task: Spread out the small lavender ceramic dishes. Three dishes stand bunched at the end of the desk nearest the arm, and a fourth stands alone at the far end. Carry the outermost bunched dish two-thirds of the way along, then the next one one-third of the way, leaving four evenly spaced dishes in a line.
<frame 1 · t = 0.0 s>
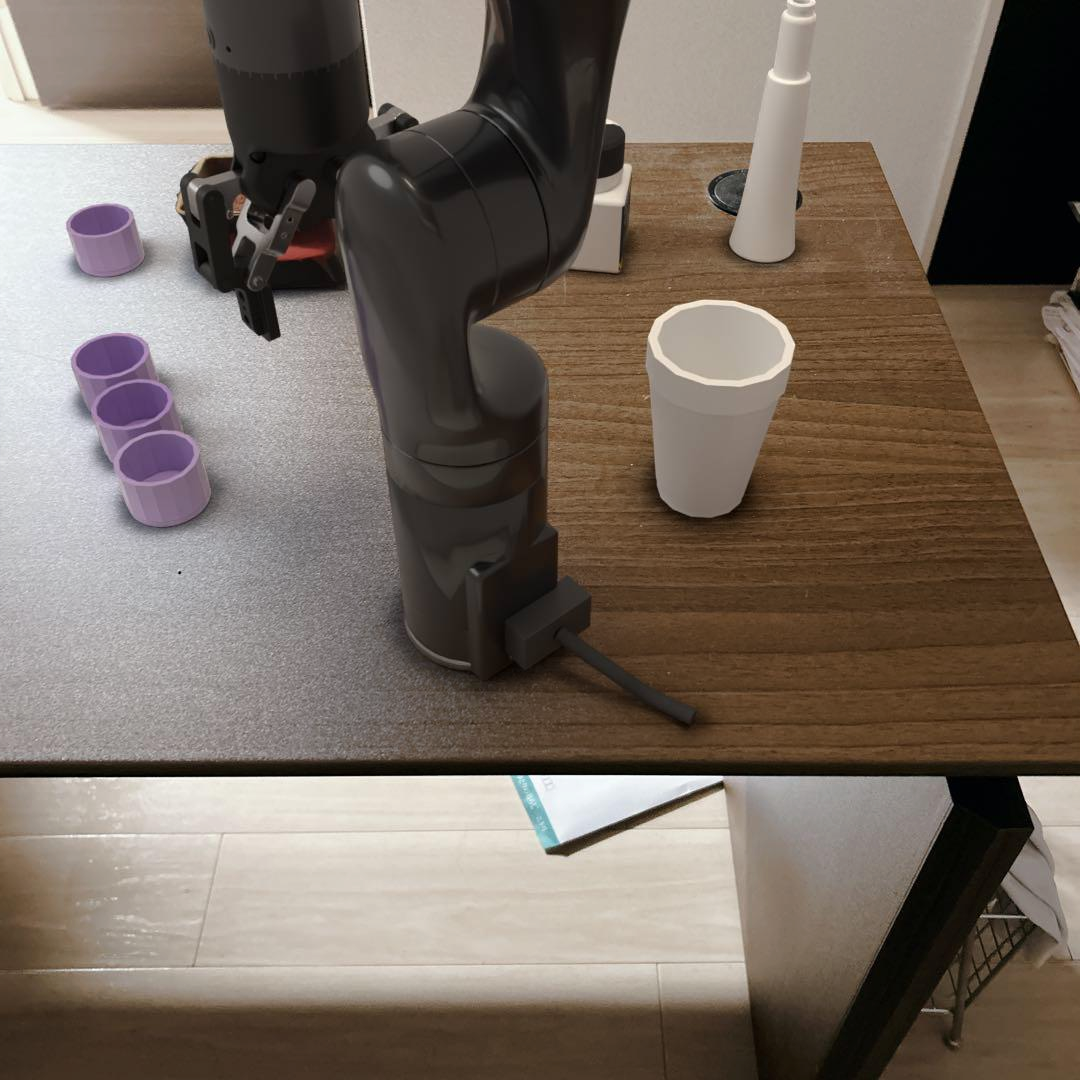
hand: (328, 306, 68), 17 cm above the table, tool pointing down, fingers open, 8 cm apart
cosmetic bottle: (761, 247, 105), on the table
medicine bottle: (585, 252, 104), on the table
dish b: (145, 444, 85), on the table
dish c: (123, 395, 89), on the table
dish far: (112, 259, 103), on the table
foam cup: (700, 489, 82), on the table
baking dish: (293, 256, 104), on the table
dish a: (170, 498, 81), on the table
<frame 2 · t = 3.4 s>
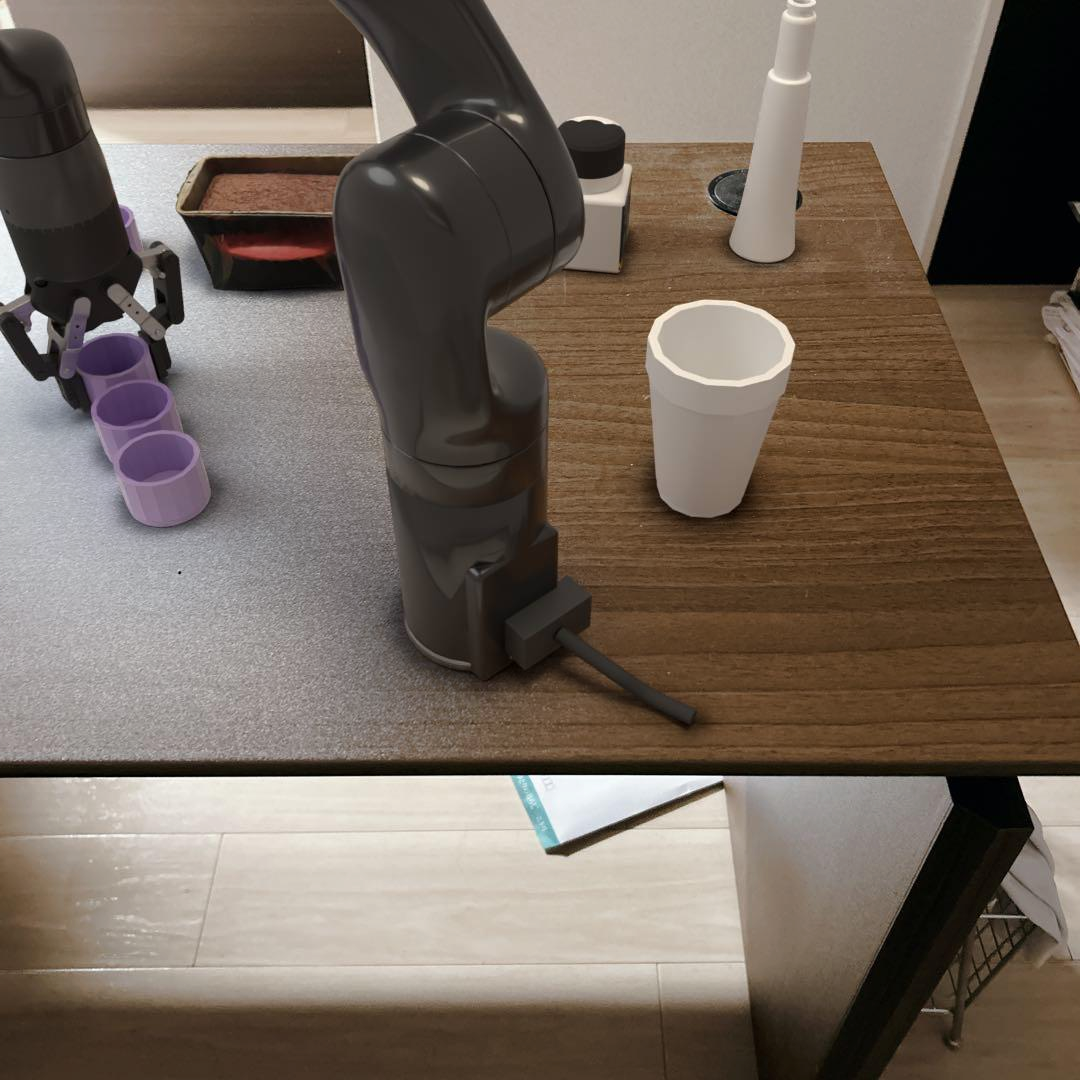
hand: (122, 389, 89), 1 cm above the table, tool pointing down, fingers closed on dish c, 6 cm apart
dish c: (123, 396, 89), on the table, touching gripper
everything else where it was.
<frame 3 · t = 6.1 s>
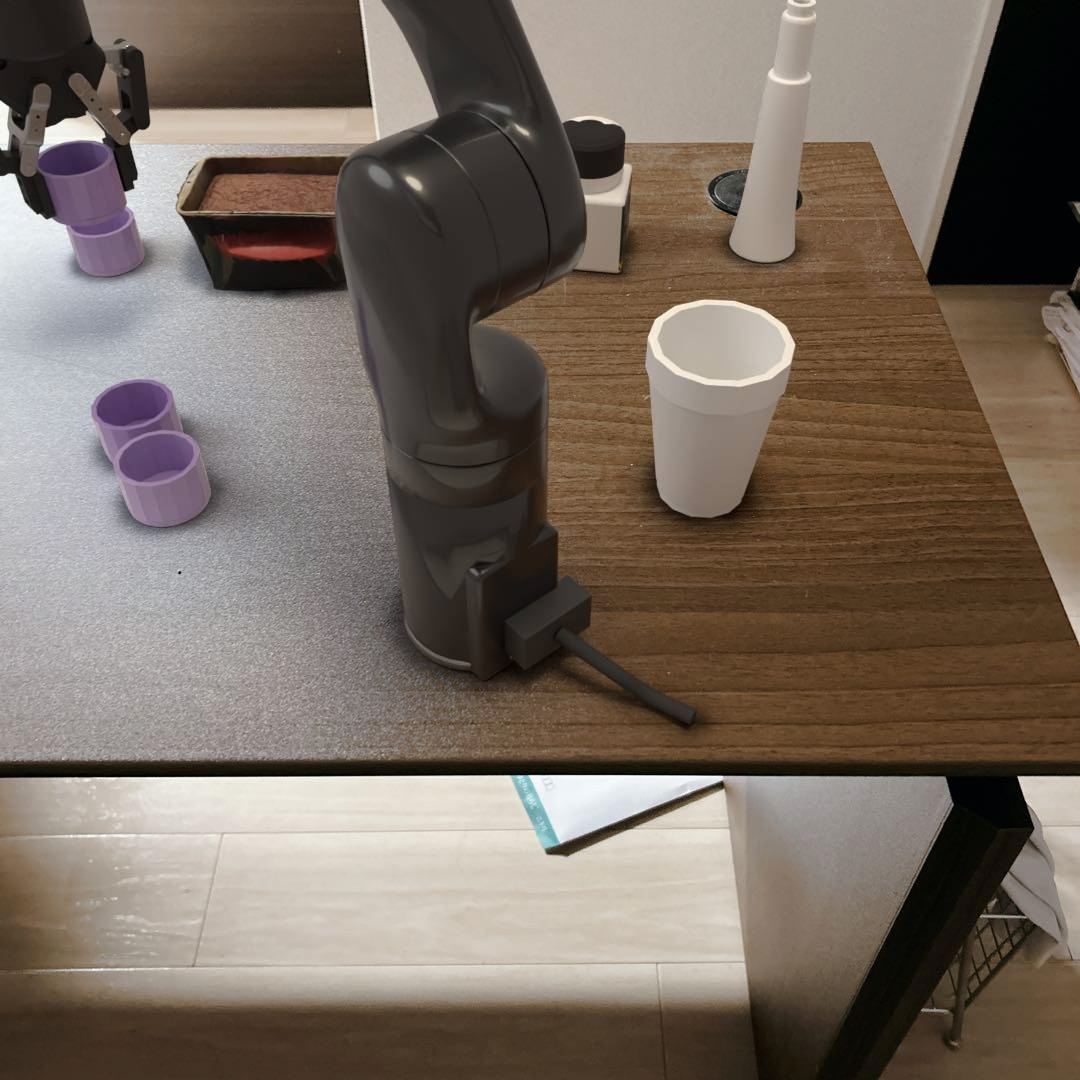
hand: (86, 199, 87), 12 cm above the table, tool pointing down, fingers closed on dish c, 6 cm apart
dish c: (88, 206, 87), point 11 cm above the table, touching gripper
everything else where it was.
when the fingers open (1 cm above the table, at t = 9.1 s): dish c stays where it is, on the table.
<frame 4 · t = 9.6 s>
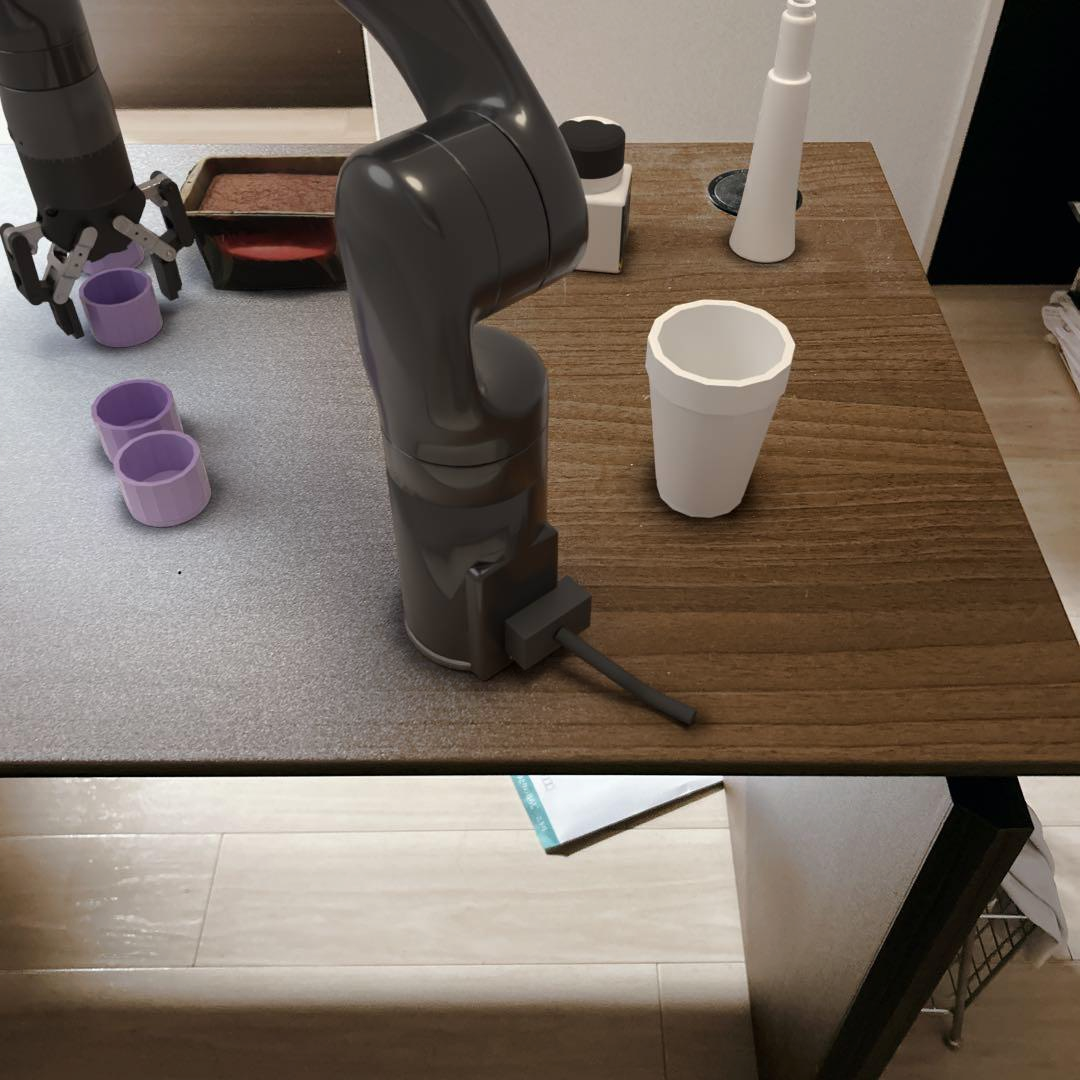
hand: (124, 314, 95), 1 cm above the table, tool pointing down, fingers open, 8 cm apart
dish c: (127, 327, 96), on the table
everything else where it was.
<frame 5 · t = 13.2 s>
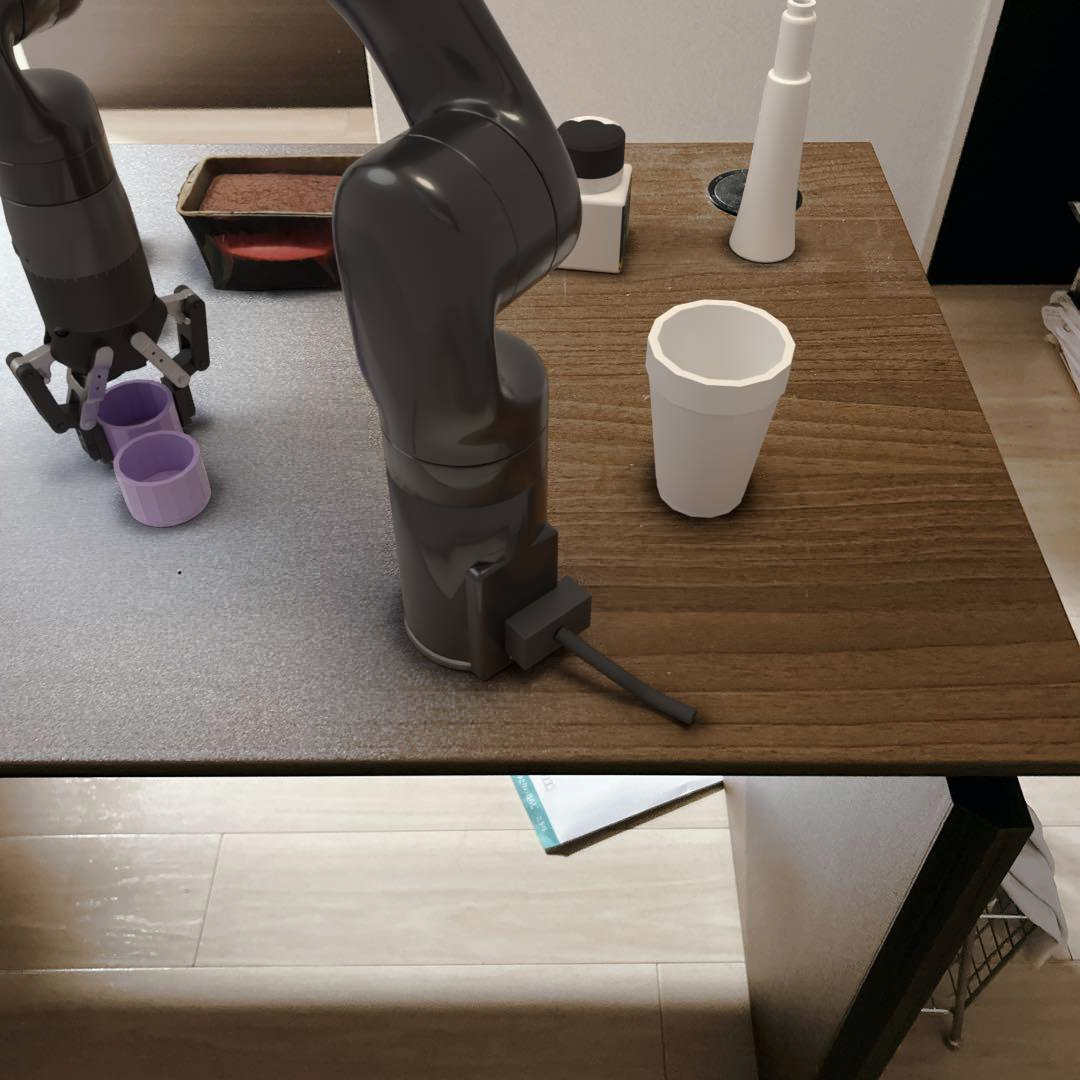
hand: (143, 438, 85), 1 cm above the table, tool pointing down, fingers closed on dish b, 6 cm apart
dish b: (145, 444, 85), on the table, touching gripper
everything else where it was.
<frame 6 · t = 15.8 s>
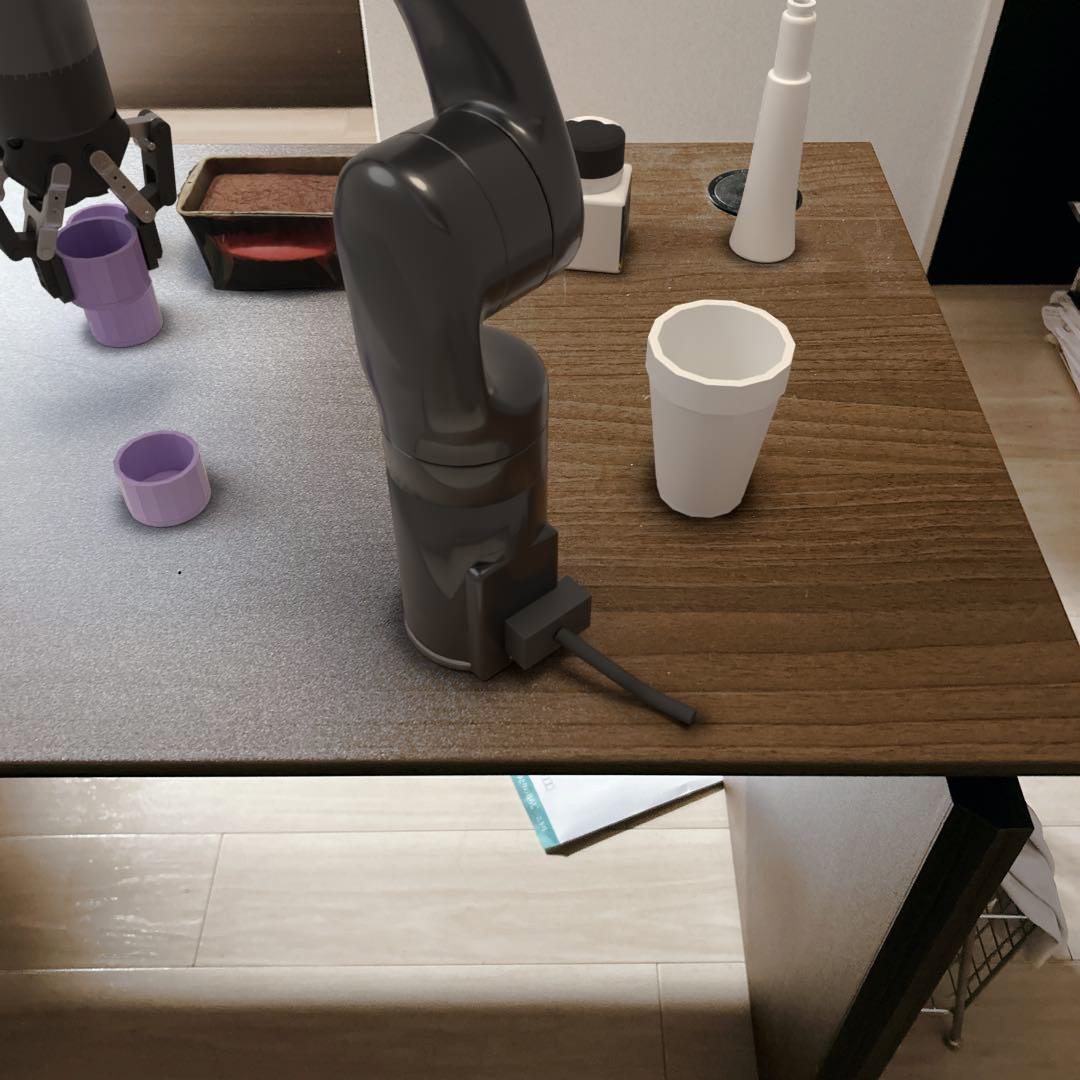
hand: (107, 279, 80), 11 cm above the table, tool pointing down, fingers closed on dish b, 6 cm apart
dish b: (109, 287, 81), point 11 cm above the table, touching gripper
everything else where it was.
when the fingers open (1 cm above the table, at t = 18.7 s): dish b stays where it is, on the table.
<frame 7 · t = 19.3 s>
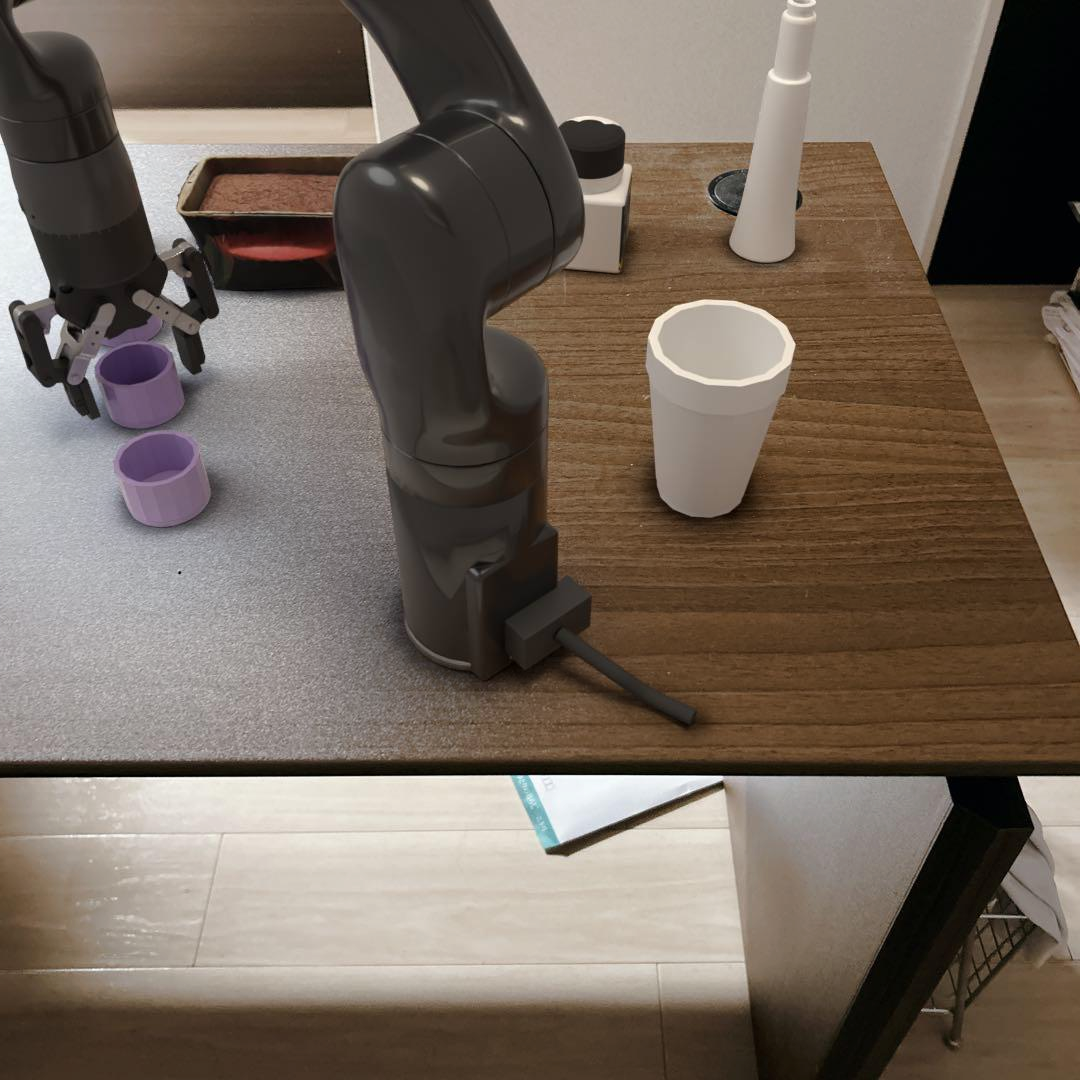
hand: (143, 391, 88), 1 cm above the table, tool pointing down, fingers open, 8 cm apart
dish b: (147, 404, 89), on the table
everything else where it was.
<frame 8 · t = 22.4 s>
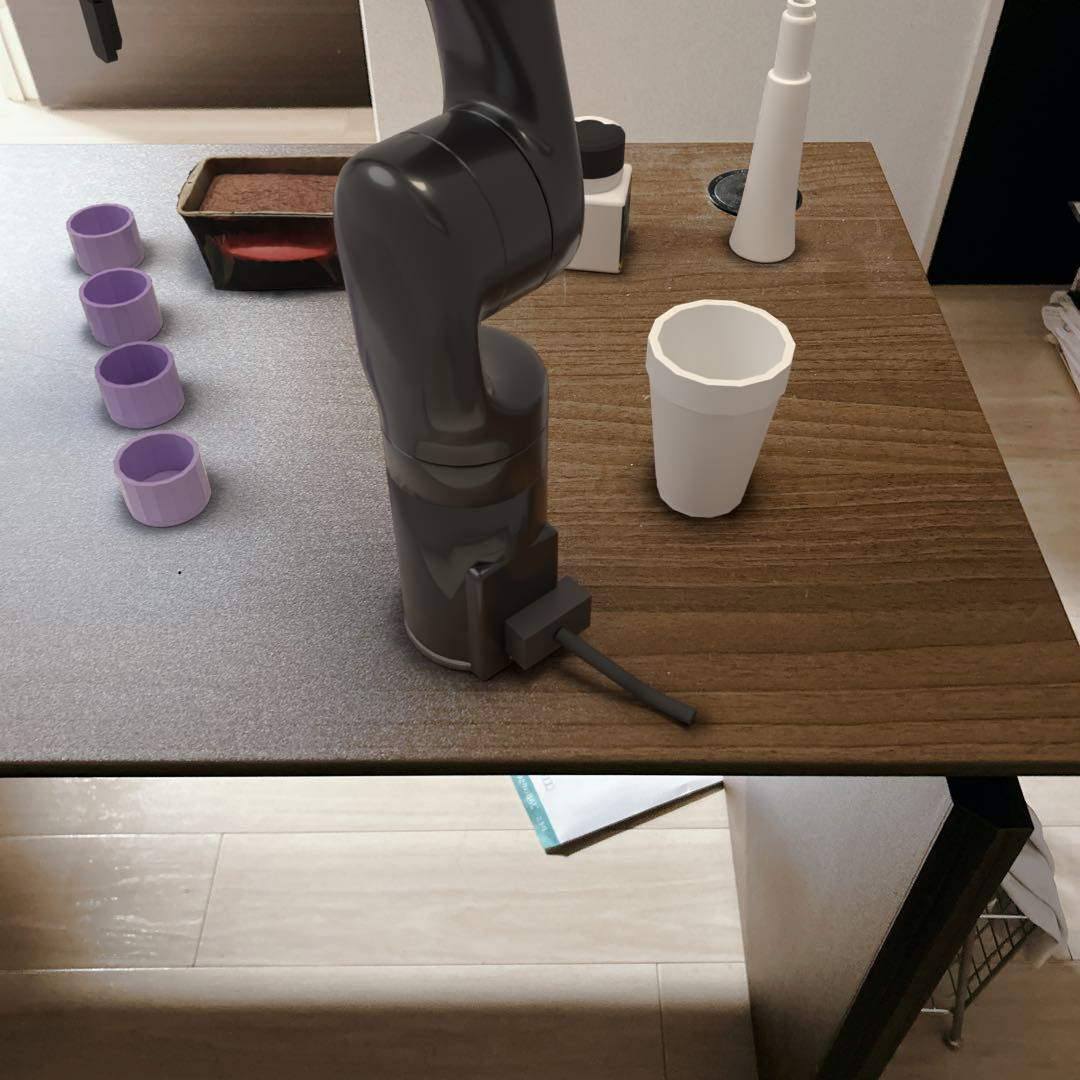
hand: (42, 77, 70), 26 cm above the table, tool pointing down, fingers open, 8 cm apart
nothing on the table moved.
at the end: dish c 0.0 cm from the target spot on the table beside the dish a, on the table; dish b 0.1 cm from the target spot on the table beside the dish a, on the table; dish far moved 0.0 cm from its start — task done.
